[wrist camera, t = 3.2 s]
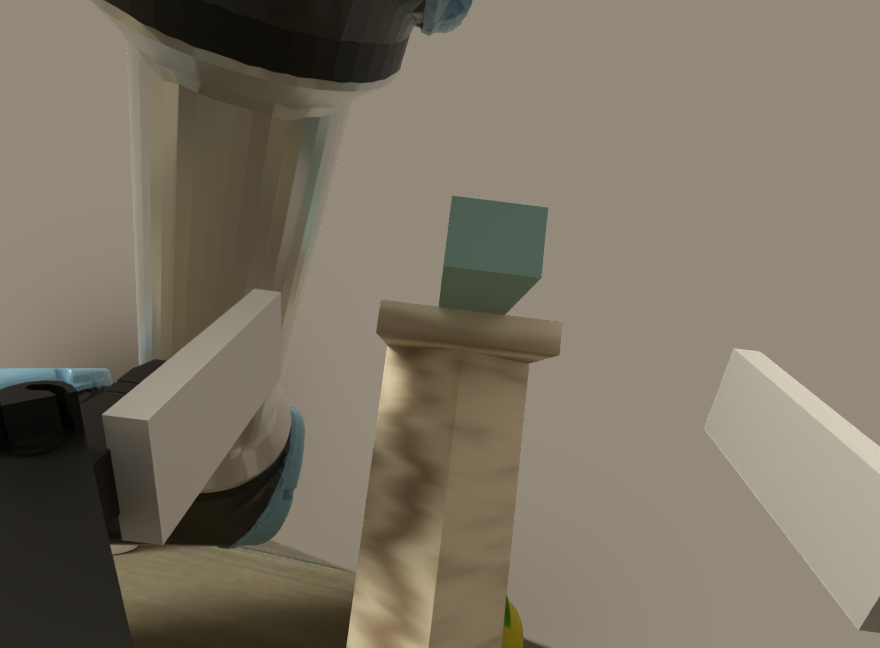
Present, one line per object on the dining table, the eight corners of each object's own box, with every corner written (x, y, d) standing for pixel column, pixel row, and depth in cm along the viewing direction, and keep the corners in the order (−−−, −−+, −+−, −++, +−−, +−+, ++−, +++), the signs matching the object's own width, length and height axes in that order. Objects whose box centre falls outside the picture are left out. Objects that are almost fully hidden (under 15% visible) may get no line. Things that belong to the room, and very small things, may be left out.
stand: (299, 861, 26) (378, 299, 30) (351, 672, 44) (396, 333, 48) (514, 886, 27) (564, 322, 31) (479, 687, 44) (514, 347, 48)
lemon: (501, 719, 40) (514, 587, 42) (440, 687, 44) (454, 566, 45) (535, 685, 46) (545, 569, 47) (478, 659, 49) (489, 551, 50)
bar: (541, 277, 21) (548, 207, 21) (443, 265, 21) (452, 195, 21) (478, 341, 46) (482, 309, 47) (435, 335, 46) (439, 303, 47)
